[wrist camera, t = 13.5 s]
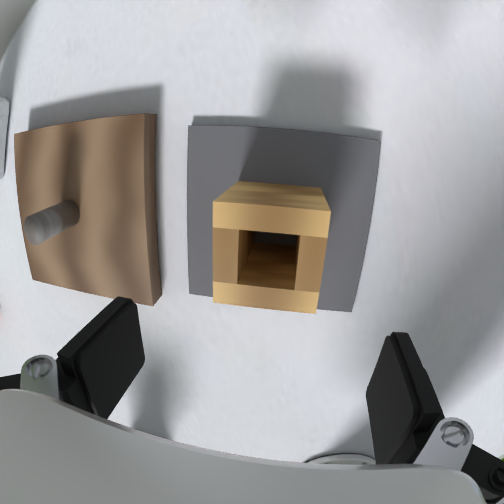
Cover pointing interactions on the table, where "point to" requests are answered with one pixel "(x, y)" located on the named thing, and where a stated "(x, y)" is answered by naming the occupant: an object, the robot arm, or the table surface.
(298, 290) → the hollow wooden cubby
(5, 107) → the photo printer
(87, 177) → the peg stand
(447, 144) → the table surface
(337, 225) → the mat
